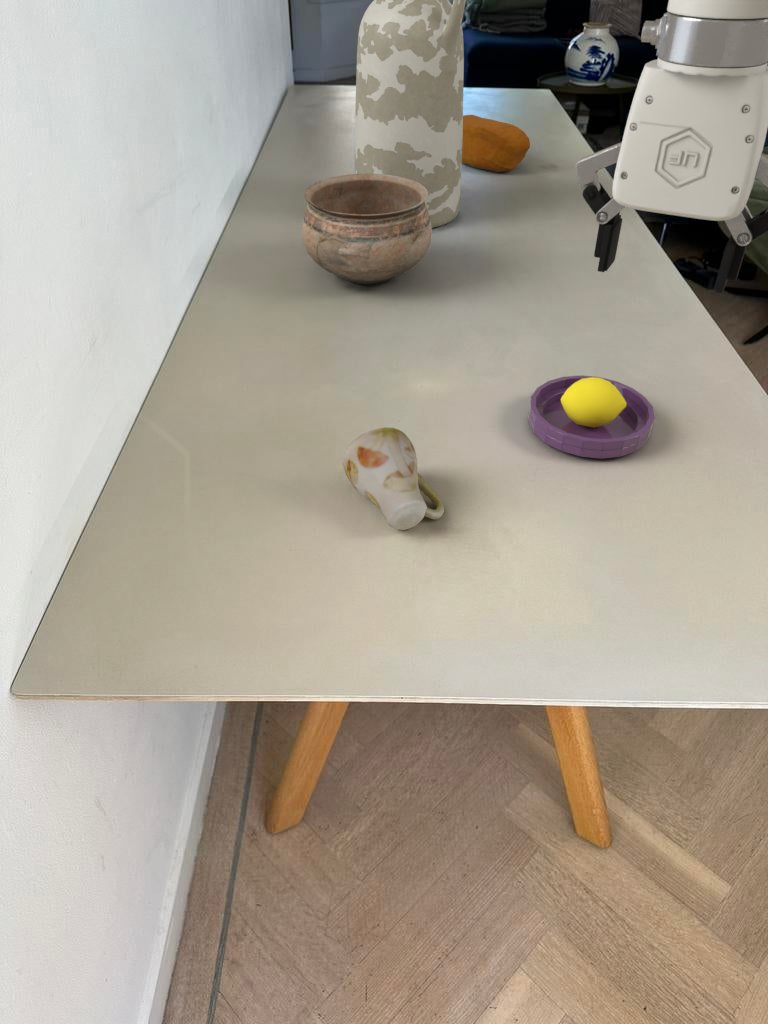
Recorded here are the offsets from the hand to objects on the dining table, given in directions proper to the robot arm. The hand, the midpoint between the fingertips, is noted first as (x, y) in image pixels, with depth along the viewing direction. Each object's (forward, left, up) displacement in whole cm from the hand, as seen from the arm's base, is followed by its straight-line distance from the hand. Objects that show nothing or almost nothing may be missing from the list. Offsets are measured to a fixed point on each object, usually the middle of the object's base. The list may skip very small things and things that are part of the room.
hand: (661, 276), depth 65 cm
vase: (+52, -58, -21) cm, 80 cm away
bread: (+51, -93, -21) cm, 108 cm away
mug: (+18, +15, -21) cm, 32 cm away
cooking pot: (+46, -31, -21) cm, 59 cm away
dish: (+5, -7, -21) cm, 22 cm away
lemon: (+5, -7, -21) cm, 22 cm away
